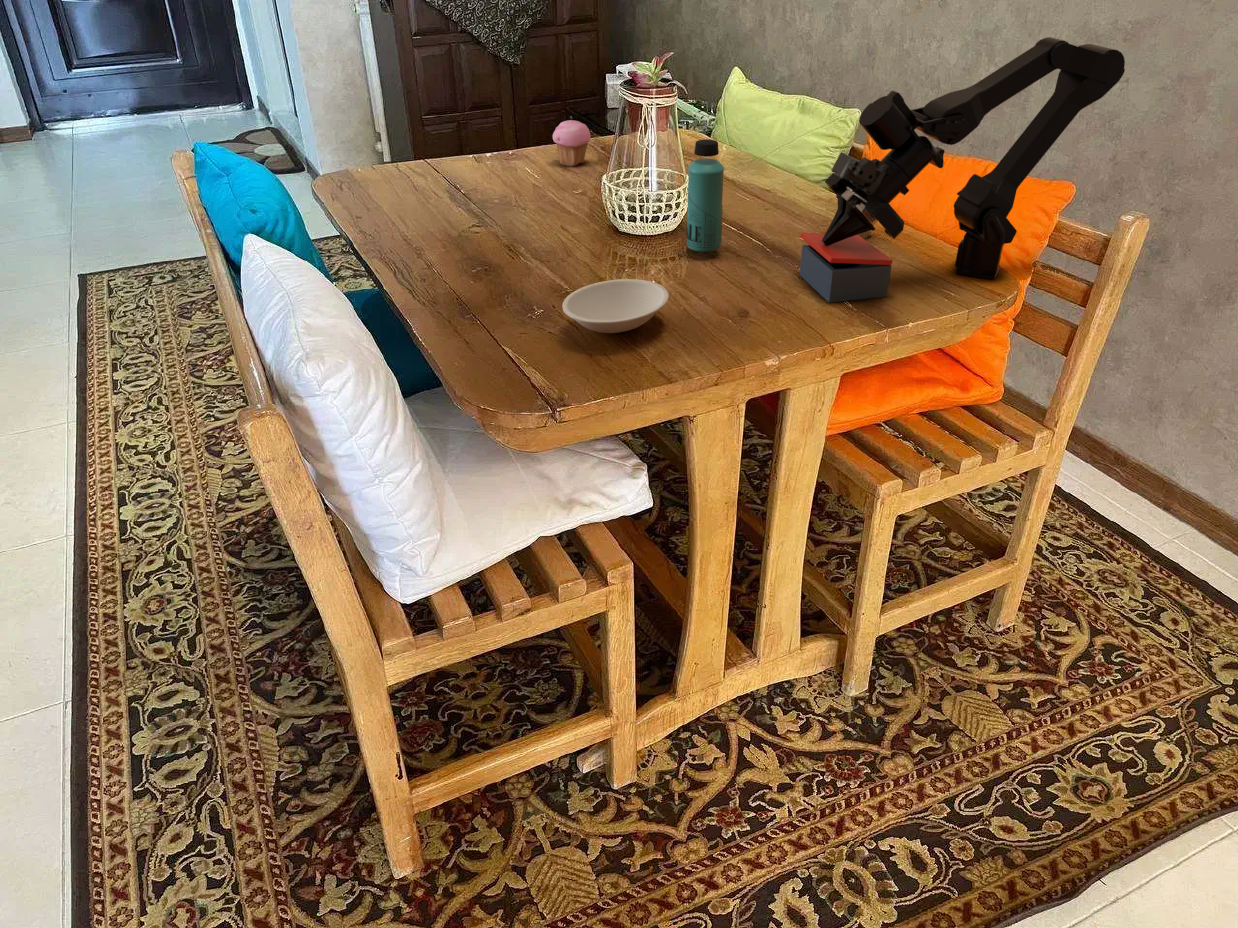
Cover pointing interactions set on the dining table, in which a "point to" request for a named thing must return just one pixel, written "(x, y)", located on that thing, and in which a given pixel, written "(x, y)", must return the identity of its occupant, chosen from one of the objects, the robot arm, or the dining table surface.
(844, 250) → the lid
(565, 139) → the cupcake
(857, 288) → the lunchbox
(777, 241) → the dining table surface
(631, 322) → the dish
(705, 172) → the beverage bottle
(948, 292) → the dining table surface
